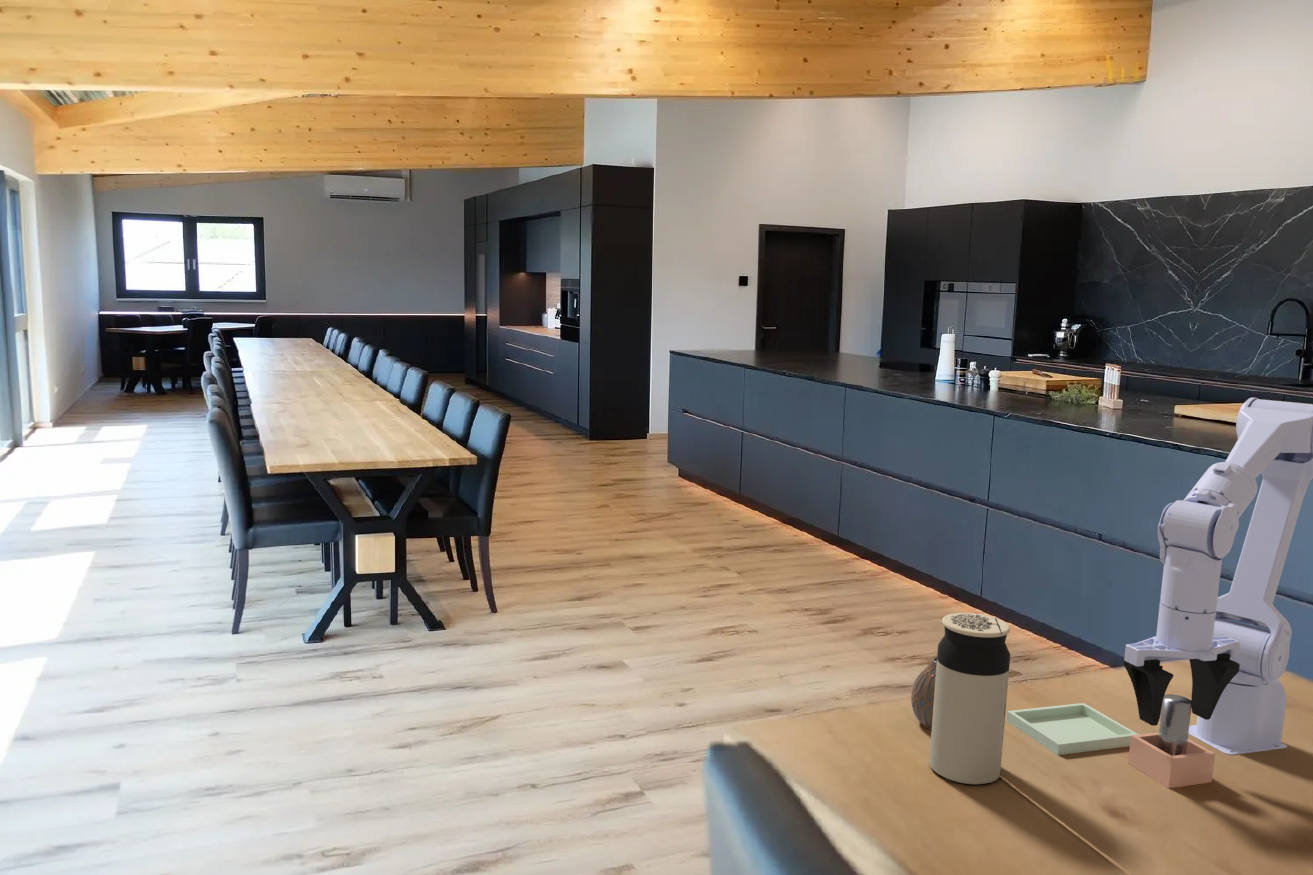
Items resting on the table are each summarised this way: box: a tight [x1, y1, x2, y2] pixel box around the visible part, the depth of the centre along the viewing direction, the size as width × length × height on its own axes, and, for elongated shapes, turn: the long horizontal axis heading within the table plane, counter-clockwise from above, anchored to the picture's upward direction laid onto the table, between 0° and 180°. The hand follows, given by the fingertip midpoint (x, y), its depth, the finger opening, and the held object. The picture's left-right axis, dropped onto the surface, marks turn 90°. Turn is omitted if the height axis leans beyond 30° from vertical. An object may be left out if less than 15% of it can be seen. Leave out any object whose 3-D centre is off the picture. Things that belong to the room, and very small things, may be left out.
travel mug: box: [928, 612, 1011, 786], centre depth 116 cm, size 8×8×18 cm
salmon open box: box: [1127, 731, 1216, 789], centre depth 117 cm, size 6×6×4 cm
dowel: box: [1157, 693, 1192, 756], centre depth 117 cm, size 3×3×9 cm
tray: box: [1005, 702, 1140, 756], centre depth 127 cm, size 12×10×2 cm
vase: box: [911, 656, 937, 730], centre depth 129 cm, size 7×7×9 cm
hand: (1174, 718), depth 116 cm, fingers open, 7 cm apart
